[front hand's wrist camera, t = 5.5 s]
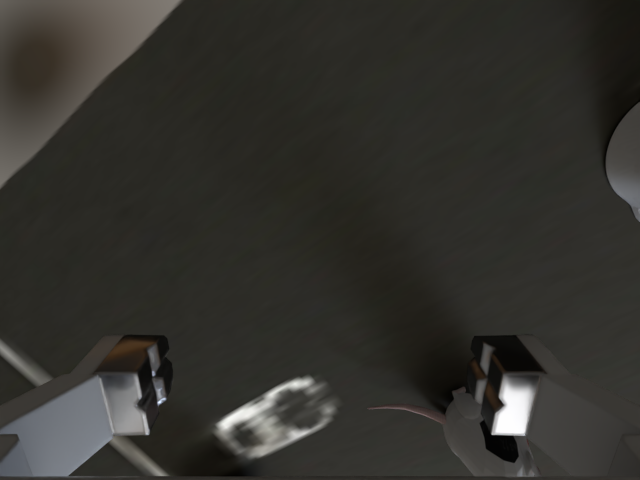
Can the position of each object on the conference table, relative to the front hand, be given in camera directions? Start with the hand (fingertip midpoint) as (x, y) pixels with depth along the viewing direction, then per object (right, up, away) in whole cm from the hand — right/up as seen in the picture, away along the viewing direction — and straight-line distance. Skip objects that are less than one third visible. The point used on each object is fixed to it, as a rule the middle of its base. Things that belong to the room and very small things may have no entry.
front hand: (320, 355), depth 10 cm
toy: (+19, -22, +51) cm, 58 cm away
